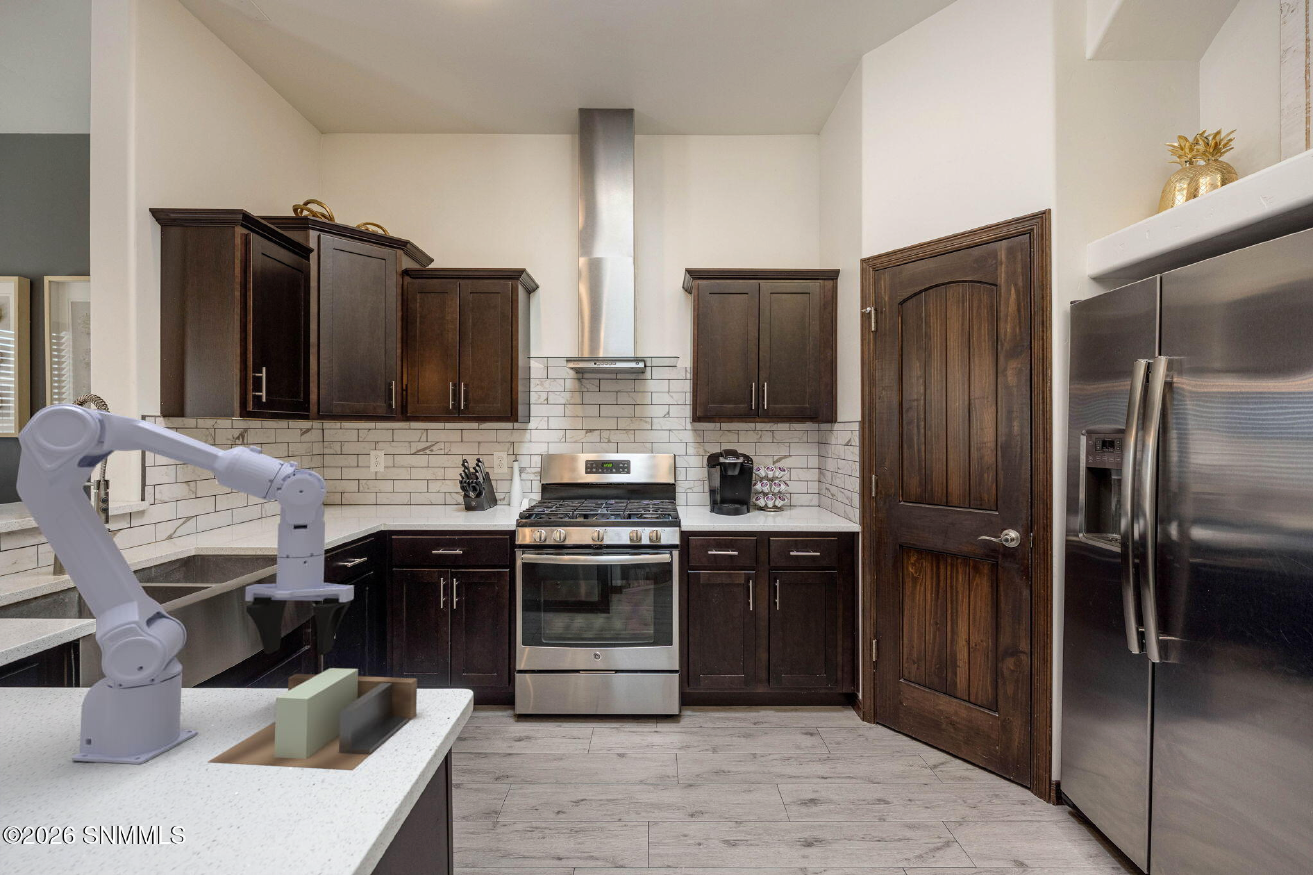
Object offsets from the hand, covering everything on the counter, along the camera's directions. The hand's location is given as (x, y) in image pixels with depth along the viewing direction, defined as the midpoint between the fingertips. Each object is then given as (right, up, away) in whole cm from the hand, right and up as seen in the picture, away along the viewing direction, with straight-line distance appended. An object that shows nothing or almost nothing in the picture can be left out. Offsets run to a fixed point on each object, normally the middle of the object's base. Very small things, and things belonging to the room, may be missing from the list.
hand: (298, 652), depth 82 cm
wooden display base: (+7, -9, -8) cm, 14 cm away
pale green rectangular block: (+7, -8, -8) cm, 13 cm away
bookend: (+14, -8, -7) cm, 18 cm away
